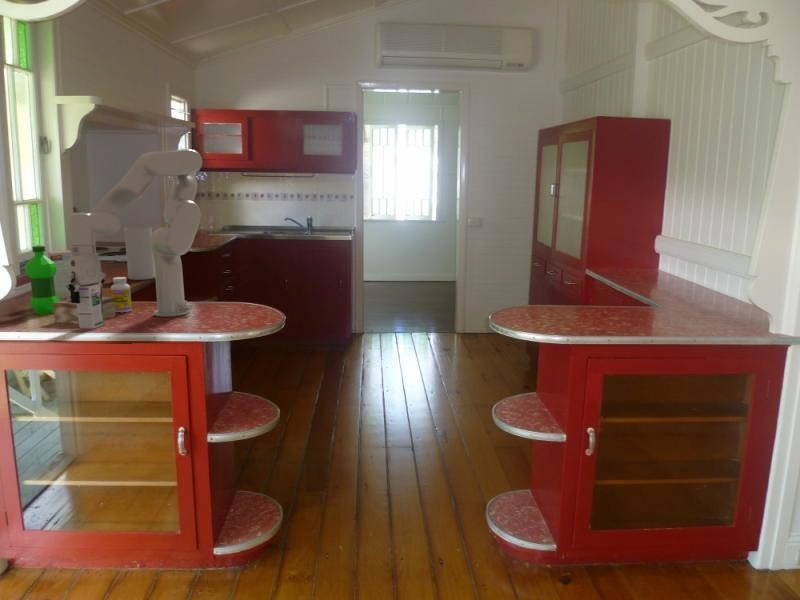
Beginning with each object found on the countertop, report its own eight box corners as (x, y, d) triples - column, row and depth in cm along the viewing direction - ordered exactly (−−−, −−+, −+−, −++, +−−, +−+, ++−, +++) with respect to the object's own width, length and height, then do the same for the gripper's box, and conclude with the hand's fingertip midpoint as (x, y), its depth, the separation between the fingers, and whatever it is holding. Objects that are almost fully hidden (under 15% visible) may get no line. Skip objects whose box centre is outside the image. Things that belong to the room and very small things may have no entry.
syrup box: (94, 328, 230) (90, 286, 228) (78, 328, 231) (74, 285, 229) (104, 325, 236) (100, 283, 233) (89, 324, 237) (85, 283, 234)
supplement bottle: (111, 314, 255) (108, 279, 252) (114, 310, 261) (110, 277, 259) (130, 312, 256) (127, 278, 254) (132, 309, 263) (129, 276, 260)
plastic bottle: (47, 309, 265) (39, 244, 261) (67, 311, 261) (60, 245, 257) (24, 314, 256) (16, 247, 251) (44, 316, 252) (37, 248, 247)
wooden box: (115, 316, 250) (113, 297, 249) (86, 324, 237) (84, 304, 236) (85, 314, 255) (83, 295, 253) (54, 322, 242) (52, 302, 240)
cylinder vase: (159, 278, 341) (155, 227, 336) (134, 281, 333) (129, 229, 328) (149, 275, 350) (145, 226, 345) (124, 278, 342) (120, 228, 337)
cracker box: (89, 298, 287) (84, 248, 283) (93, 300, 282) (87, 250, 279) (52, 302, 279) (47, 251, 275) (55, 305, 274) (49, 252, 270)
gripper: (71, 252, 219) (75, 305, 222) (111, 248, 235) (114, 297, 238) (53, 252, 222) (57, 304, 225) (94, 247, 238) (97, 296, 241)
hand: (86, 300), depth 231 cm, fingers open, 9 cm apart
